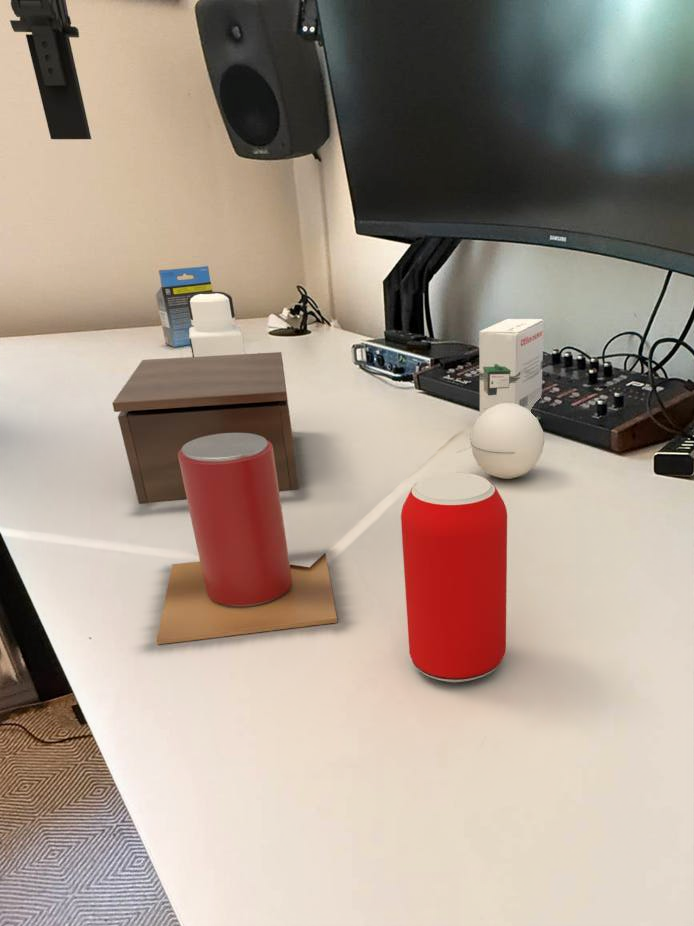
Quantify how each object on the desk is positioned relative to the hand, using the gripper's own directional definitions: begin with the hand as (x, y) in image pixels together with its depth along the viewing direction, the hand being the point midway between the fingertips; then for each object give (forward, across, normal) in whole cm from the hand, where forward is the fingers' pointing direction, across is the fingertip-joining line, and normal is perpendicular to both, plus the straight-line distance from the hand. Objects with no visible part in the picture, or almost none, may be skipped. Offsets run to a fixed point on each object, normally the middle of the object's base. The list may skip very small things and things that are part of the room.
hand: (71, 138), depth 63 cm
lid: (+20, +5, -7) cm, 22 cm away
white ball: (+30, -4, -33) cm, 45 cm away
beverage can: (+30, -37, -22) cm, 53 cm away
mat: (+29, -24, -9) cm, 39 cm away
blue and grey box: (+30, +78, +1) cm, 83 cm away
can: (+29, -24, -9) cm, 39 cm away
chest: (+29, +5, -7) cm, 31 cm away
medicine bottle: (+30, +47, -5) cm, 56 cm away
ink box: (+30, +13, -40) cm, 51 cm away
